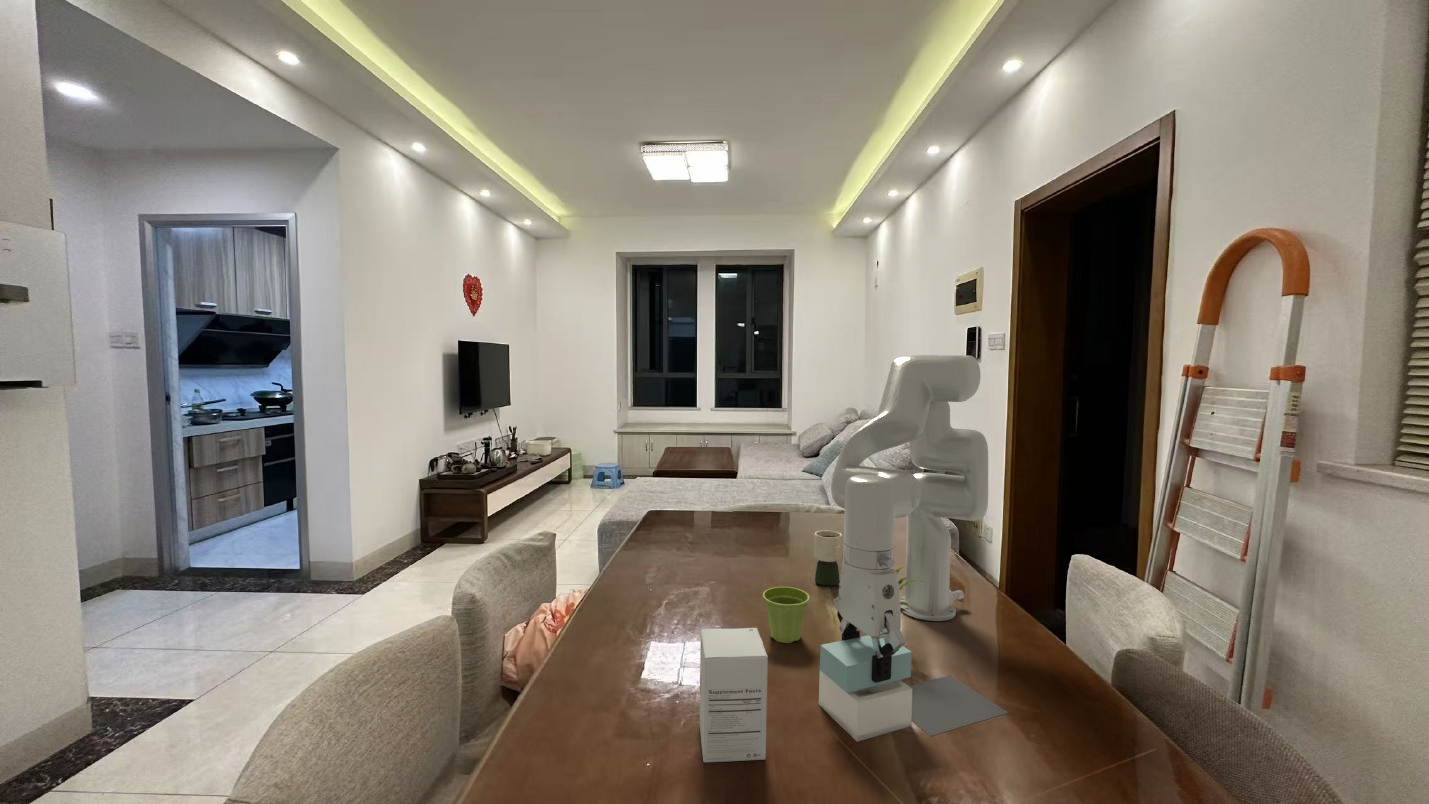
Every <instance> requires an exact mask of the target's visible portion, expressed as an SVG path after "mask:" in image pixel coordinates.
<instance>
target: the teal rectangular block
mask: <svg viewBox="0 0 1429 804" xmlns="http://www.w3.org/2000/svg"><path fill="white" fill-rule="evenodd" d="M880 634H881V633H880ZM879 640H880V644H881V647H883V646H884V645H885V641H884V638H881V639H879ZM819 646H820V648H819V649H820V651H819V652H820V653H819V656H820V658H819V671H820V670H821V671H822V672H823V673H824V674H825V675H827V676H828V677H829V678H830V679H831V680H832V681H833V682H835V683H836V684H837V685H838V686H839V687H840V688H841V689H843V690H844V691H845V692H846V693H848V692H852V691H856V690H860V689H864V688H868V687H873V686H877V685H881V684H885V683H889V682H893V681H897V680H901V681H902V680H904V679H908V678H911V677H912V654H913V652H912V651H911V650H910V649H908V648H906V647H905V646H904V645H903V646H902V647H901V648H899V650H898V651H897V652H896V653H895V655H892V663H891V678H890V679H889V680H885V681H881V682H877V683H875V682H873V681H872V656H873V655H875V651H874V647H873V643H872V639H871V636H869V635H867V636H860V637H859V638H854V639H849V640H843V641H842V640H837V641H833V642H829V643H823V644H820V645H819Z"/></svg>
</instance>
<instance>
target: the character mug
mask: <svg viewBox="0 0 1429 804" xmlns="http://www.w3.org/2000/svg"><path fill="white" fill-rule="evenodd" d="M813 534H814V536H813V538H814V539H813V542H814V543H813V558H814V559H816V560H818V561H817V562H816V569H815V575H814V576H815V577H814V581H815V584H818V585H823V586H829V587H831V586H837V585H838V586H839V583H840V571H839V570H840V569H839V564H838V562H839V561H840V560H841V559H842V558H843V553H842V549H843V534H842V533H841V532H839V531H835V530H818V531H815V532H814V533H813Z"/></svg>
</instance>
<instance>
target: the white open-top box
mask: <svg viewBox="0 0 1429 804" xmlns="http://www.w3.org/2000/svg"><path fill="white" fill-rule="evenodd" d="M818 678H819V683H818V685H819V686H818V705H819V707H821V709H823V710H824V711H825V712H826V713H827V714H828V715H829V716H830V717H831V718H832V719H833V720H834V721H835V722H836V723H837V724H839V726H840V727H841V728H843V729H844V730H845V732H846V733H847V734H848V735H850V736H851V738H853V739H854V741H856V742H860V741H861V742H862V741H864V740H868V739H871V738H875V737H878V736H881V735H884V734H888V733H892V732H895V731H899V730H902V729H907V728H910V727H912V721H911V714H912V688H911V687H909V686H910V685H908V684H907V683H905V682H904V681H903V680H902V679H901V680H897V681H893V682H889V683H885V684H881V685H877V686H873V687H868V688H864V689H860V690H856V691H852V692H848V693H846V692H845V691H844V690H843V689H841V688H840V687H839V686H838V685H837V684H836V683H835V682H833V681H832V680H831V679H830V678H829V677H828V676H827V675H825V674H824V673H823V672H822V671H821V670H820V669H819V677H818Z"/></svg>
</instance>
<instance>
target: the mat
mask: <svg viewBox="0 0 1429 804" xmlns="http://www.w3.org/2000/svg"><path fill="white" fill-rule="evenodd" d="M908 686H909V687H911V688H912V714H911V723H913V724H914V725H916V726H917V727H918V728H920V729H921V731H923V732H925V733H926V734H927V735H929V736H930V737H933V736H937V735H939V734H943V733H946V732H950V731H953V730H956V729H960V728H963V727H966V726H969V725H973V724H977V723H980V722H983V721H986V720H989V719H993V718H995V717H996V718H997V717H1000V716H1003V715H1006V714H1009V712H1008V711H1006V710H1005V709H1004V708H1002V707H1000V706H999V705H997V704H996V703H994V702H993V701H991V700H990V699H988V698H986V697H985V696H983V695H982V694H981V693H978V692H977V691H975V690H974V689H972V688H971V687H969V686H968V685H966V684H964V683H963V682H962V681H960V680H958V679H957V678H956V677H954V676H952V675H946V676H942V677H938V678H935V679H934V678H933V679H930V680H927V681H922V682H919V683H914V684H909V685H908Z"/></svg>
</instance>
